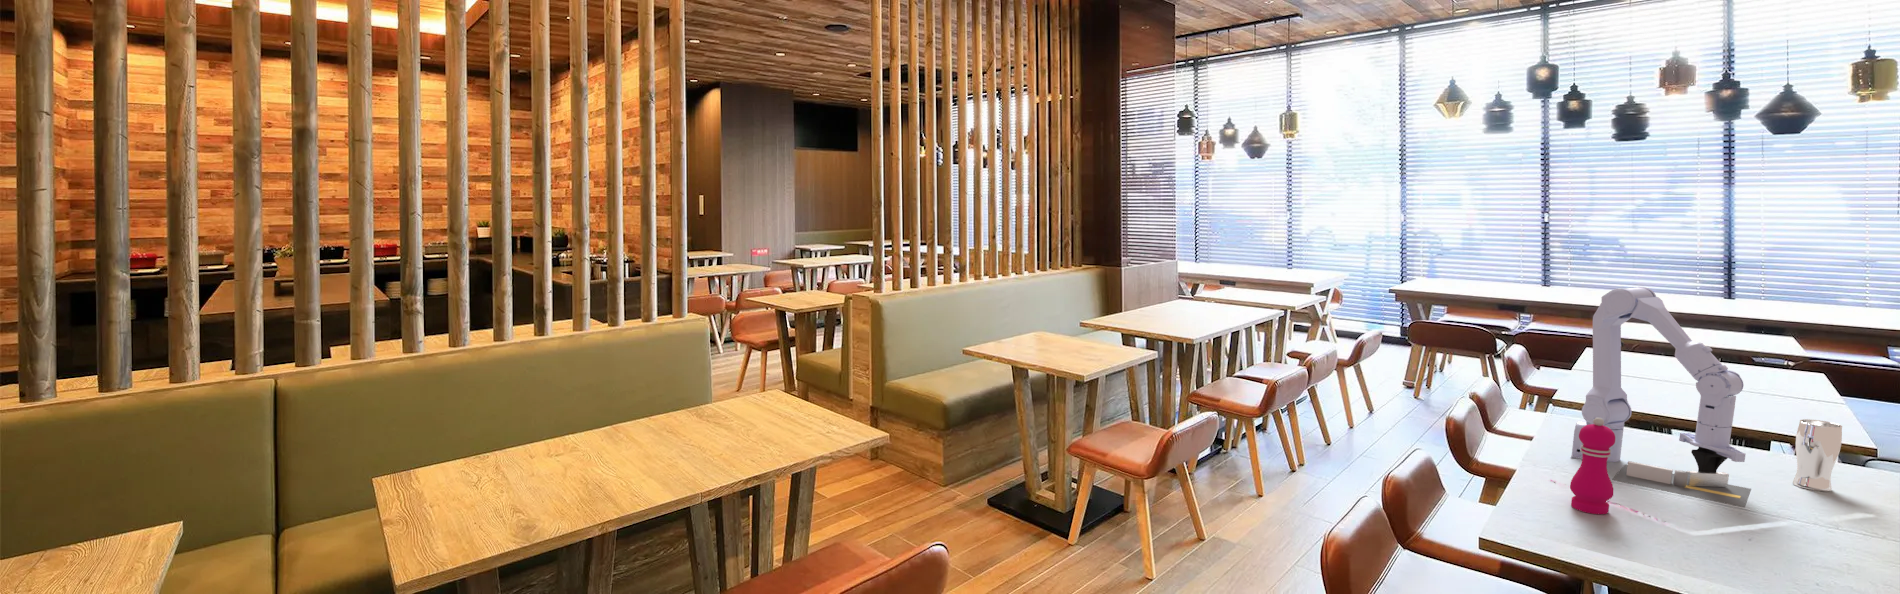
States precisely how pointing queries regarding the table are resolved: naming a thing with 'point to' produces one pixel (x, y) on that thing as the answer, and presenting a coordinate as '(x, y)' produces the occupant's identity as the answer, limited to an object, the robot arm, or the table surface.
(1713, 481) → the hinge leaf
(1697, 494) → the mat
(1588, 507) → the pepper mill
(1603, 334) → the robot arm
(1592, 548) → the table surface
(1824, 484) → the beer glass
